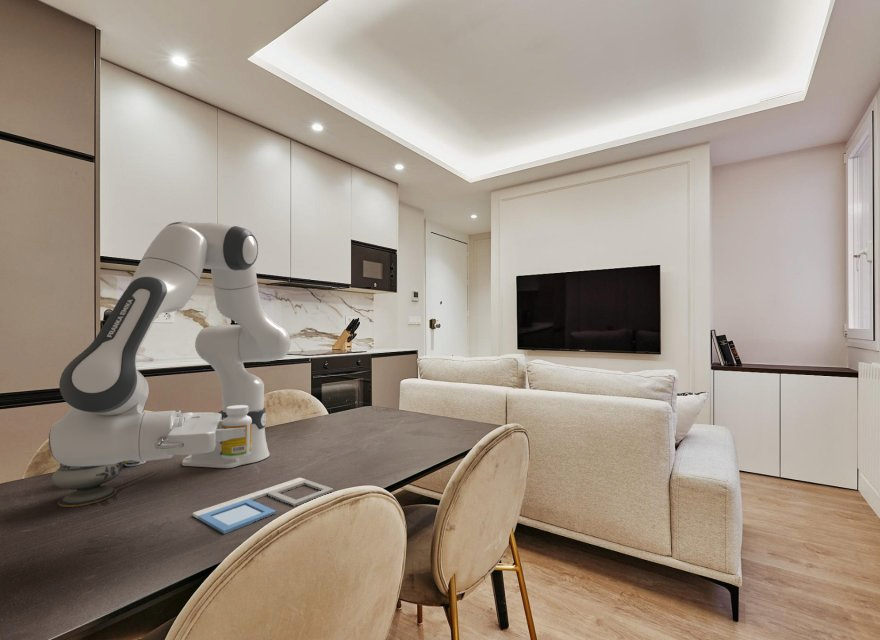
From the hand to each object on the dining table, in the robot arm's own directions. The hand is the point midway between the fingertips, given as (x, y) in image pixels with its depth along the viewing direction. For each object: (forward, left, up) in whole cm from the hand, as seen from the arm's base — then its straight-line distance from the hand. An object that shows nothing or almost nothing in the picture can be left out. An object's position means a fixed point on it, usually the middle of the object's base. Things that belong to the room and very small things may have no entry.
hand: (244, 428), depth 84 cm
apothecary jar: (-39, +10, -18) cm, 44 cm away
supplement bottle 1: (-45, +34, -18) cm, 59 cm away
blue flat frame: (+3, +6, -17) cm, 19 cm away
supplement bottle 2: (-1, -1, -5) cm, 6 cm away
